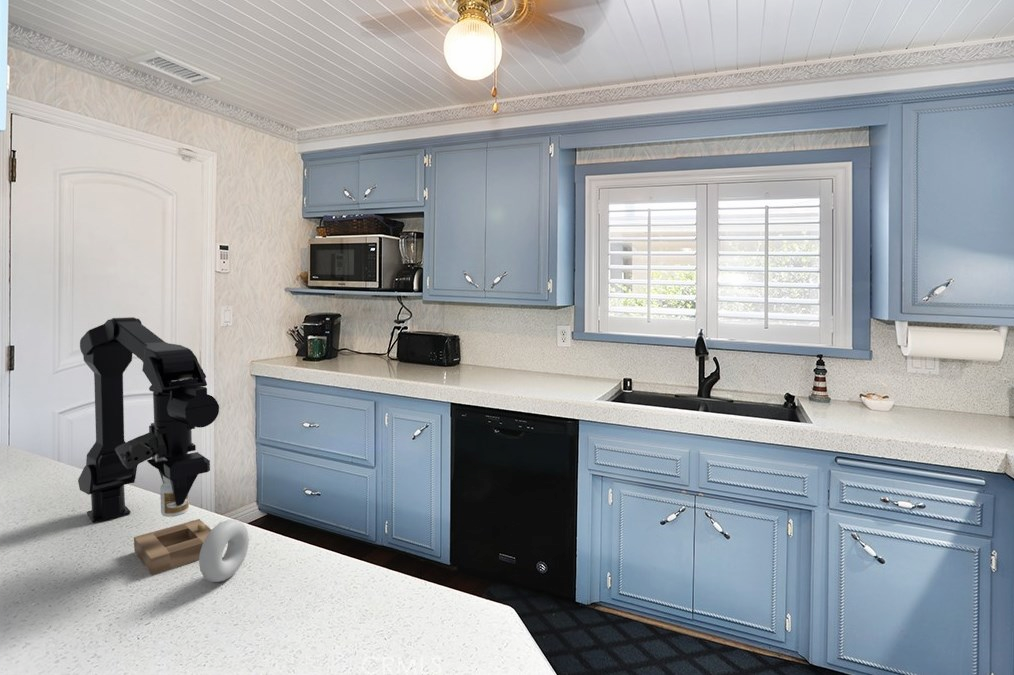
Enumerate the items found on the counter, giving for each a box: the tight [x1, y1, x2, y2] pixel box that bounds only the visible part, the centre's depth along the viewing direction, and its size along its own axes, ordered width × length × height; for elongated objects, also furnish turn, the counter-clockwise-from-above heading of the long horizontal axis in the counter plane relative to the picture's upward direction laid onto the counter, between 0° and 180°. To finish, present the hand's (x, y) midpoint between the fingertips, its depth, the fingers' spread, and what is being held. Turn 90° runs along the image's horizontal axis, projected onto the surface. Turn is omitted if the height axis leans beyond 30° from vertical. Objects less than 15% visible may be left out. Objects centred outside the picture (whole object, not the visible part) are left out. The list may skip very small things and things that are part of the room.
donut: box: [198, 519, 250, 583], centre depth 91 cm, size 10×4×10 cm, turn 168°
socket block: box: [133, 518, 212, 576], centre depth 99 cm, size 11×11×4 cm
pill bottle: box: [159, 476, 190, 518], centre depth 98 cm, size 4×4×8 cm
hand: (175, 500), depth 98 cm, fingers closed on pill bottle, 4 cm apart
